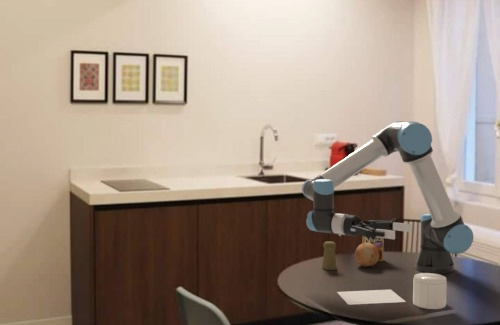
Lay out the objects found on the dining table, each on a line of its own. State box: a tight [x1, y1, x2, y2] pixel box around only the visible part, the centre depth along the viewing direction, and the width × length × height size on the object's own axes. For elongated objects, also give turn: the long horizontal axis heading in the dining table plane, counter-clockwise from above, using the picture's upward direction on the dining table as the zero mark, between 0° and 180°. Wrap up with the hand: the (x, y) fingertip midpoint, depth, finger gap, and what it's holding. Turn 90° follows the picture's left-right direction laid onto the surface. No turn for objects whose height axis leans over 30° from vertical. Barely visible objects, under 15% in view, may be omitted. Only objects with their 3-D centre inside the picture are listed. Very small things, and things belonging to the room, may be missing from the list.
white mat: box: [336, 289, 407, 306], centre depth 214 cm, size 20×14×1 cm
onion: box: [354, 242, 379, 267], centre depth 257 cm, size 10×10×10 cm
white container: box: [412, 272, 448, 313], centre depth 206 cm, size 10×10×10 cm
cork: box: [321, 240, 338, 271], centre depth 255 cm, size 6×6×11 cm
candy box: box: [361, 229, 385, 262], centre depth 267 cm, size 9×4×15 cm, turn 73°
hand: (403, 231), depth 210 cm, fingers open, 13 cm apart
